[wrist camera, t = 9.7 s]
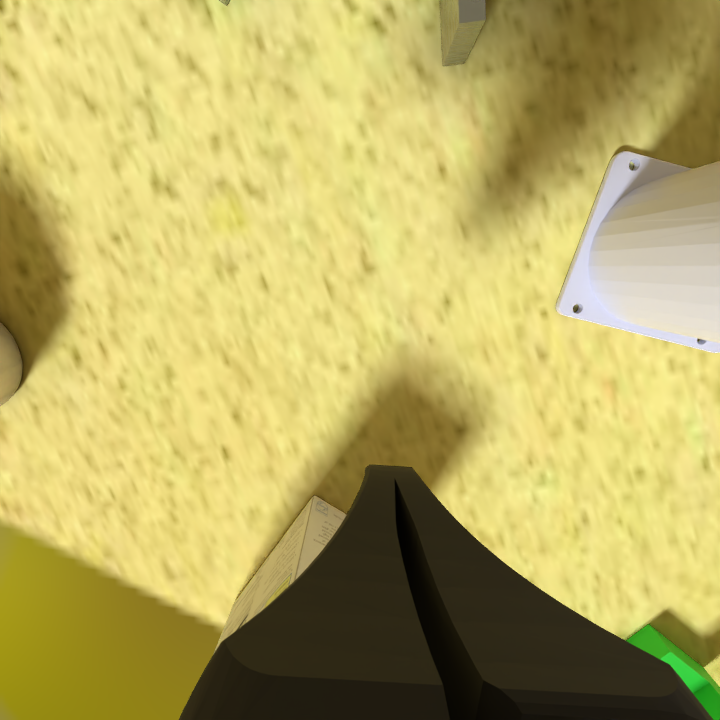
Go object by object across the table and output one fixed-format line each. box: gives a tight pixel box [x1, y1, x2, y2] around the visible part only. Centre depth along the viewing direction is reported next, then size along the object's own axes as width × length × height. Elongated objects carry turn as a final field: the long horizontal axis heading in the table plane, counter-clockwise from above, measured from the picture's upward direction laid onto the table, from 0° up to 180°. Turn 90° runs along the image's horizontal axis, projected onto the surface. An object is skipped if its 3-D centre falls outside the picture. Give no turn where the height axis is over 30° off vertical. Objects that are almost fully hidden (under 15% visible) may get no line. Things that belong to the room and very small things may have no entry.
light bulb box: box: [214, 495, 347, 653], centre depth 19 cm, size 11×7×11 cm, turn 146°
